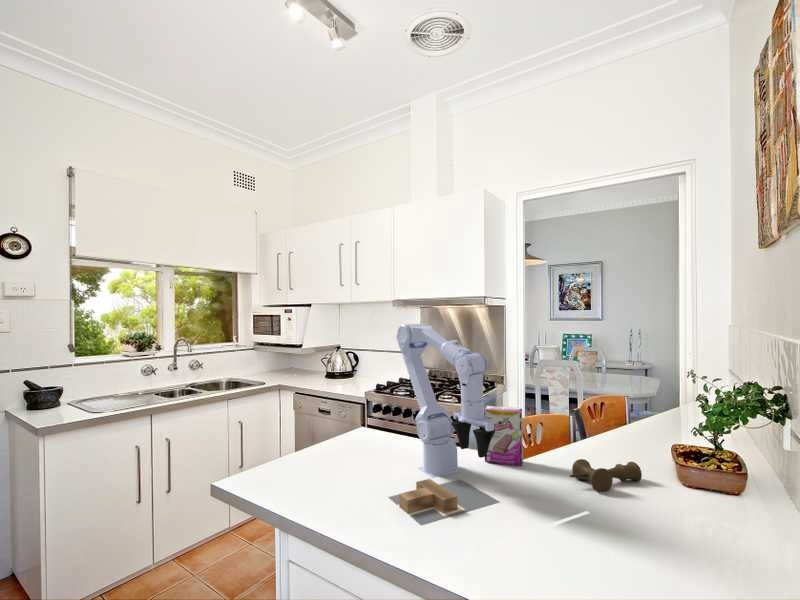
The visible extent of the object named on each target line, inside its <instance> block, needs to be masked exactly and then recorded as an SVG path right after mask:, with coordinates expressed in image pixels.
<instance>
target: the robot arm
mask: <svg viewBox="0 0 800 600" xmlns="http://www.w3.org/2000/svg"><path fill="white" fill-rule="evenodd" d="M395 337H396V340H397V344H398V347H399V350H400V353H401V354H402V358H403V361H404V365H405V366H406V369H407V370H406V371H407V373H408V376H409V379H410V382H411V385H412V388H413V389H412V390H413V391H414V395H415V397H416V401H417V403H418V407H419V411H418V413H417V415H416V417H415V418H414V419H415V423H416V432H417V433H416V434H417V435H418V437H419V439H420V441H421V442H422V444H423V445H422V447H423V449H422V450H423V453H422V454H423V466H420V467H419V466H418V468H417V469H418V470H420V471H421V472H422V473H424V474H425V475H428V476H429V477H430V478H437V477H440V476H445V475H450V474H452V473H453V474H454V473H457V472H460V469H459V467H458V448H457V443H456V441H455V440H454V439H453V438H451V437H452V435H453V434H454V431H455V434H456V436H457V440H458V443H459V447H460V449H461V450H465V449H468V448H469V445H470V433H471V428H472V425H473V426H475V427H478V428H475V429H472V433H473V435H474V438H475V441H476V448H477V449H476V450H477V455H478V458H480V459H481V458H485V457H486V456H487V452H488V448H489V444H490V441H491V439H492V437H493V435H494V433H495V429H494V422H491V421H489V420H488V419H487V418H485V417H484V382H483V381H484V377H483V376H484V374H485V373H486V371H487V368H488V362H487V359H486V357H485V356H484V355H483V354H482V352H472V351H471V349H469V348H466V347H465V346H463V345H461V344H460V341H458V340H457V339H453V340H447V339H445V337H443V336H442V335H441V334H439V333H438V332H437V331H435V329H434V326H432V325H430V324H429V323H426V322H424V323H407V324H406V323H401V324H400V325H399V326H398V329H397V333H396V336H395ZM429 345H430V346H431V347H432V348H435V350H438V351H439V352H440V355H441V357H442V359H444V360H445V361H446V362H448V363H449V364H451V365H452V366H453V367H454V368H455V370H456V373H457V375H458V381H459V383H460V406H461V407H460V410H461V411H460V410H457V411H453V413H452V415H453V416H452V417H453V419H452V418H451V417H450V416H449V414H448V411H447V409H446V408H444V407H443V406H441V405H440V404H438V401H437V398H436V396H435V392H434V389H433V387H432V384H431V382H430V379H429V375H428V372H427V370H426V366H425V363H424V362H423V359H422V354H423V353H424V352H426V350H427V348H428V346H429ZM453 420H455V421H453Z"/></svg>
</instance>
